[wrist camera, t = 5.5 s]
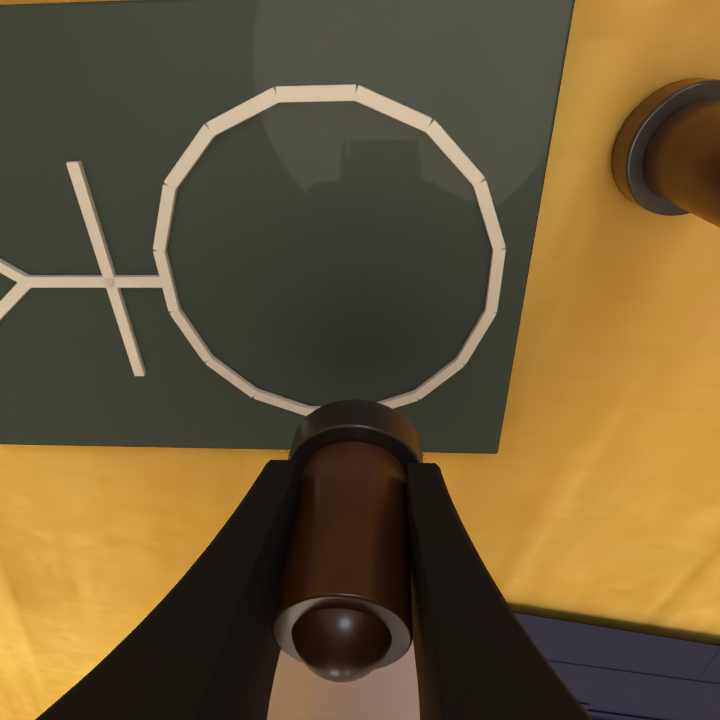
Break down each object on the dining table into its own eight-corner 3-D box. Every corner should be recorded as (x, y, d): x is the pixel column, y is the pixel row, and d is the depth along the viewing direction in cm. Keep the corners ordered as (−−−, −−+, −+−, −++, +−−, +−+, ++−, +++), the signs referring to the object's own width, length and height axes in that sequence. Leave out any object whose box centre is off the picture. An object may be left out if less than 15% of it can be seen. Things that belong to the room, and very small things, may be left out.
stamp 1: (349, 510, 13) (328, 737, 9) (266, 439, 12) (195, 661, 8) (447, 459, 12) (481, 691, 8) (367, 374, 11) (351, 592, 6)
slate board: (2, 431, 20) (-15, 448, 19) (-220, 15, 13) (-264, 12, 12) (494, 440, 19) (499, 458, 18) (567, -11, 11) (581, -17, 11)
